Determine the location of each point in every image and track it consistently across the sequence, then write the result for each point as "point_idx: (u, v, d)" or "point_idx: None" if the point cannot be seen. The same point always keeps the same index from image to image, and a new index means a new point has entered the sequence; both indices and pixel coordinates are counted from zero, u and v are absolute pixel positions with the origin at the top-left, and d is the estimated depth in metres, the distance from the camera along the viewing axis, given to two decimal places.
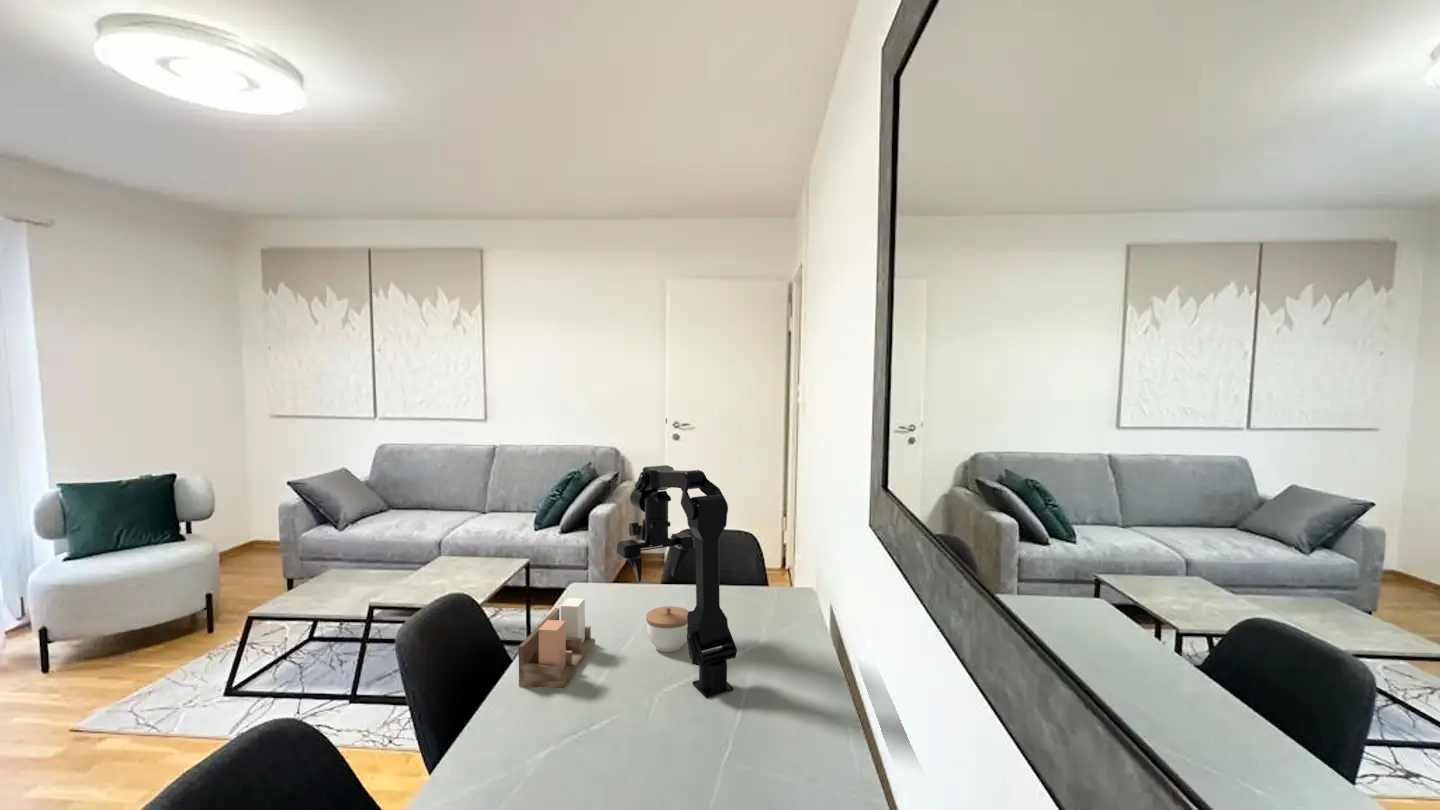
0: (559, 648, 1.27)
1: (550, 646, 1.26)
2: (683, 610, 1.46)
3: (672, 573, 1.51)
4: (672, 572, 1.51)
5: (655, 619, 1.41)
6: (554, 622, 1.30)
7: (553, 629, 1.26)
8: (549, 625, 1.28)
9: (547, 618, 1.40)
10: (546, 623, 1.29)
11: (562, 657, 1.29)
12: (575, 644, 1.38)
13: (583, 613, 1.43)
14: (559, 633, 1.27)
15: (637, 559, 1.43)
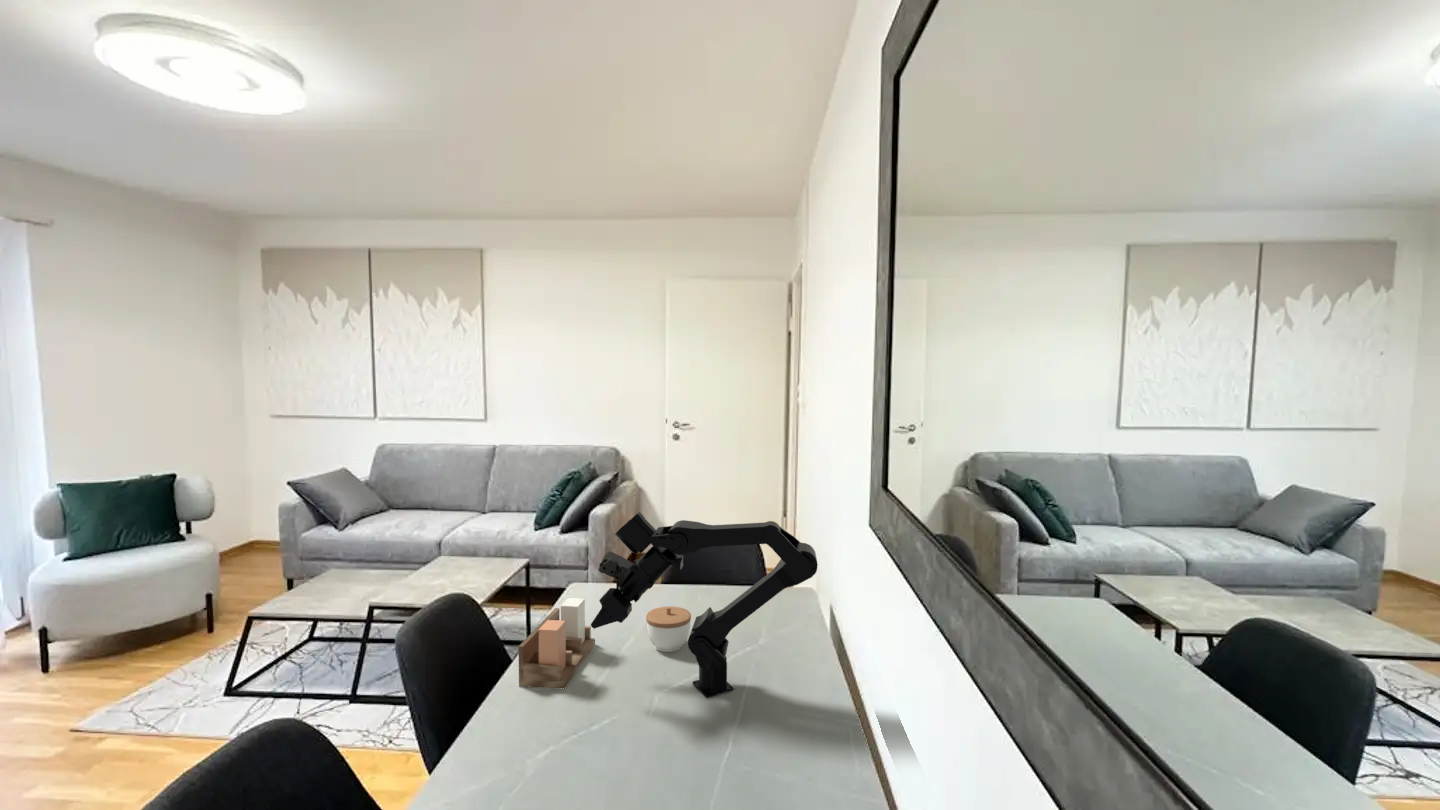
0: (559, 648, 1.27)
1: (550, 646, 1.26)
2: (683, 610, 1.46)
3: None
4: None
5: (655, 619, 1.41)
6: (554, 622, 1.30)
7: (553, 629, 1.26)
8: (549, 625, 1.28)
9: (547, 618, 1.40)
10: (546, 623, 1.29)
11: (562, 657, 1.29)
12: (575, 644, 1.38)
13: (583, 613, 1.43)
14: (559, 633, 1.27)
15: None
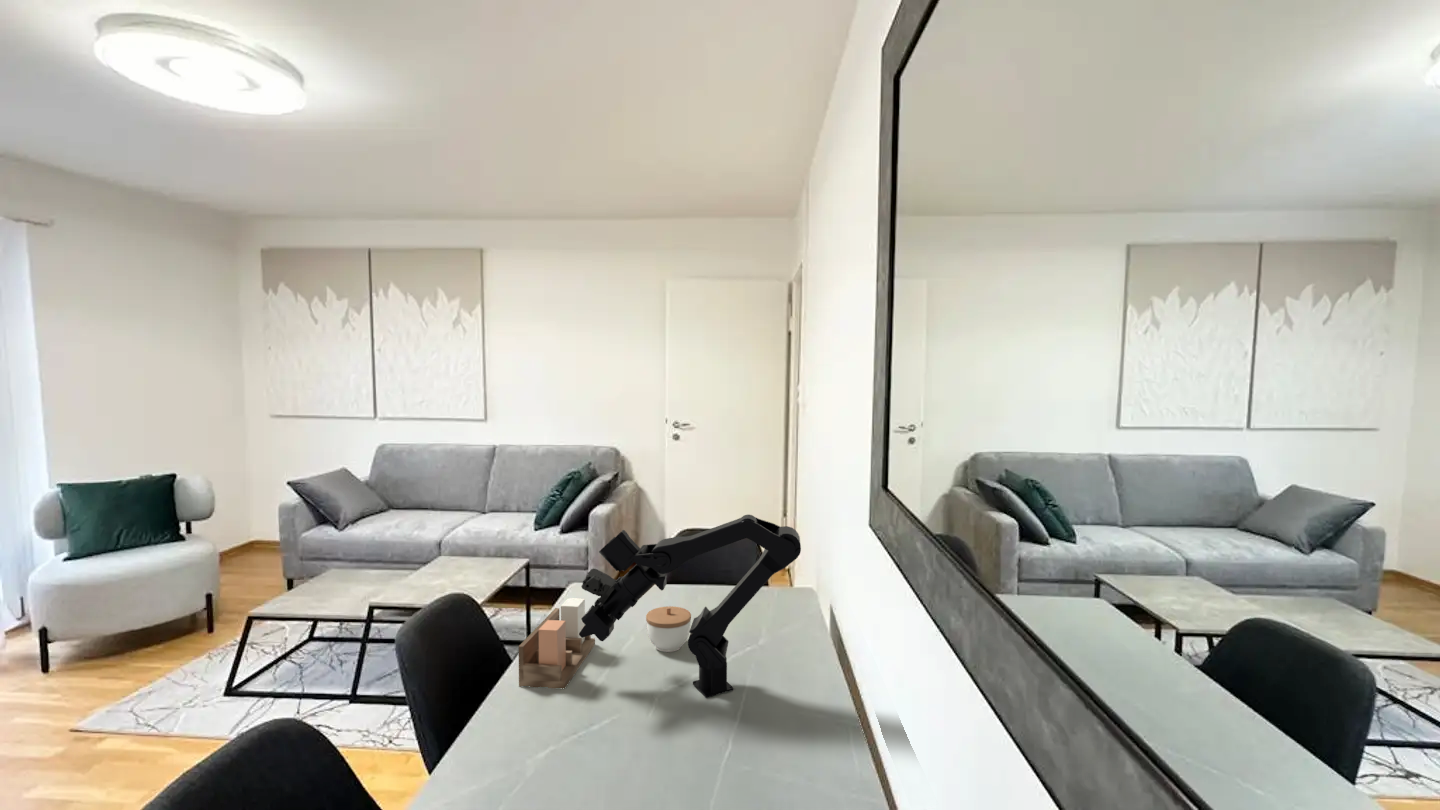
0: (559, 648, 1.27)
1: (550, 646, 1.26)
2: (683, 610, 1.46)
3: None
4: None
5: (655, 619, 1.41)
6: (554, 622, 1.30)
7: (553, 629, 1.26)
8: (549, 625, 1.28)
9: (547, 618, 1.40)
10: (546, 623, 1.29)
11: (562, 657, 1.29)
12: (575, 644, 1.38)
13: (583, 613, 1.43)
14: (559, 633, 1.27)
15: None
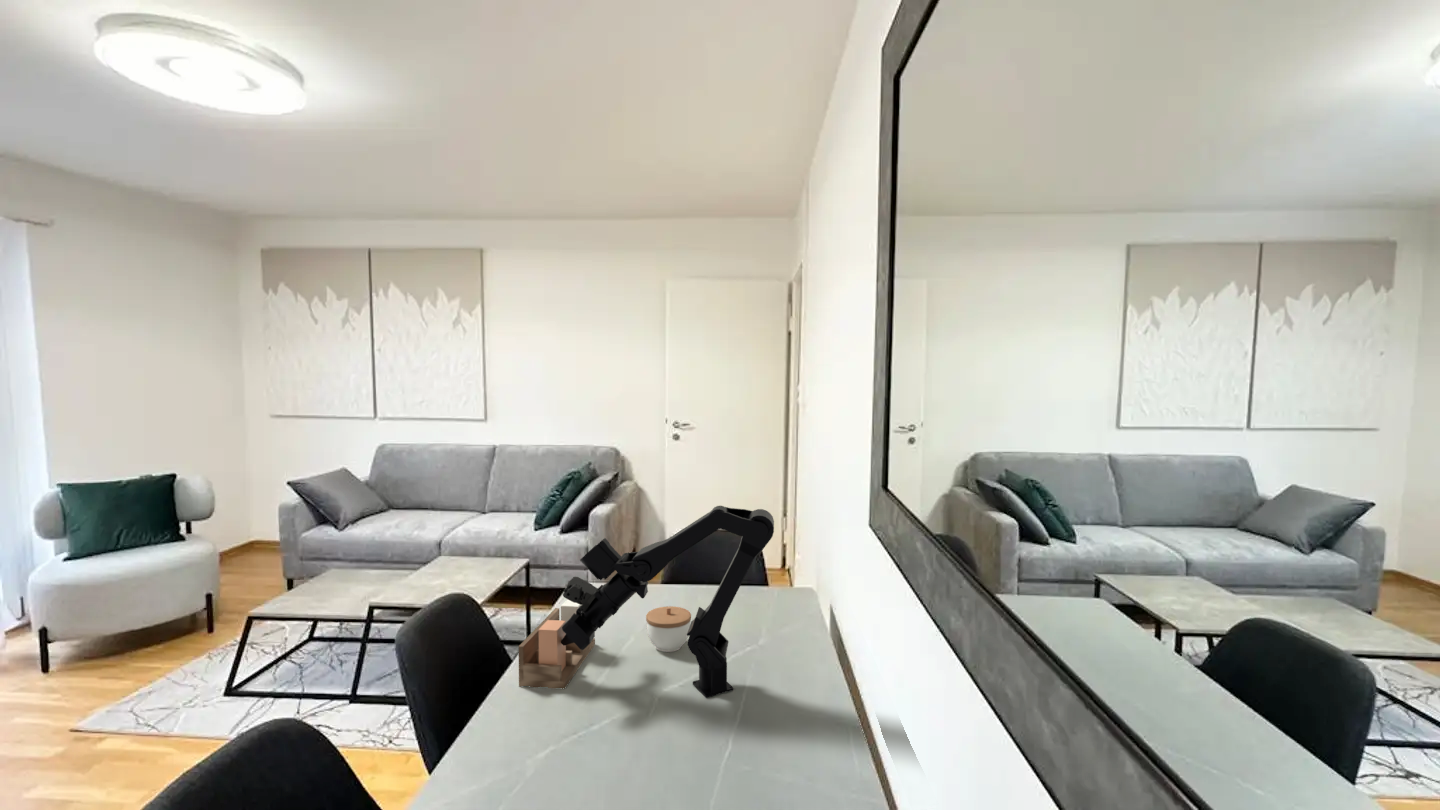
0: (559, 648, 1.27)
1: (550, 646, 1.26)
2: (683, 610, 1.46)
3: None
4: None
5: (655, 619, 1.41)
6: (554, 622, 1.30)
7: (553, 629, 1.26)
8: (549, 625, 1.28)
9: (547, 618, 1.40)
10: (546, 623, 1.29)
11: (562, 657, 1.29)
12: (575, 644, 1.38)
13: None
14: (559, 633, 1.27)
15: None
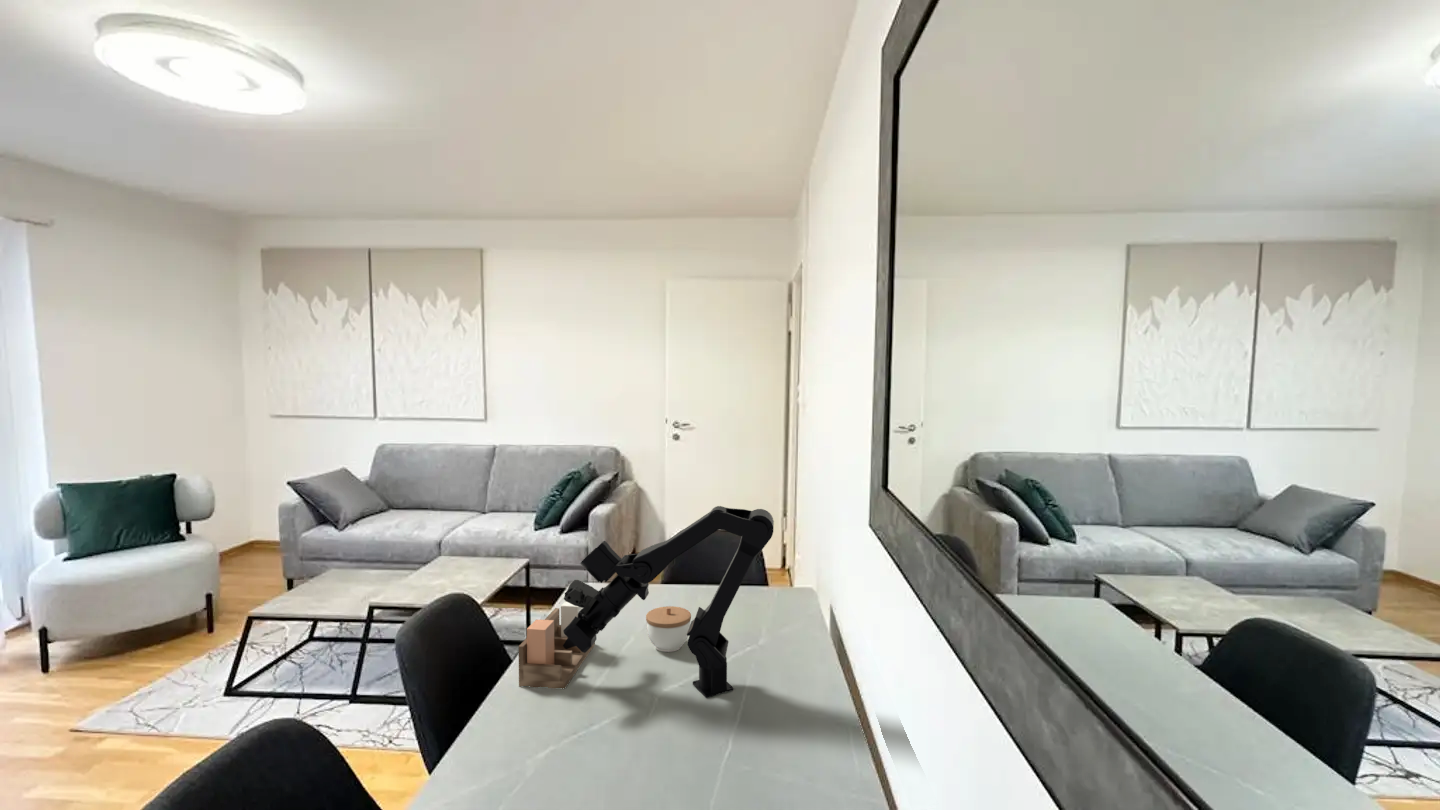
0: (547, 647, 1.27)
1: (538, 646, 1.26)
2: (683, 610, 1.46)
3: None
4: None
5: (655, 619, 1.41)
6: (543, 621, 1.30)
7: (541, 628, 1.26)
8: (538, 624, 1.28)
9: (547, 618, 1.40)
10: (534, 622, 1.29)
11: (550, 656, 1.29)
12: None
13: None
14: (547, 633, 1.27)
15: None
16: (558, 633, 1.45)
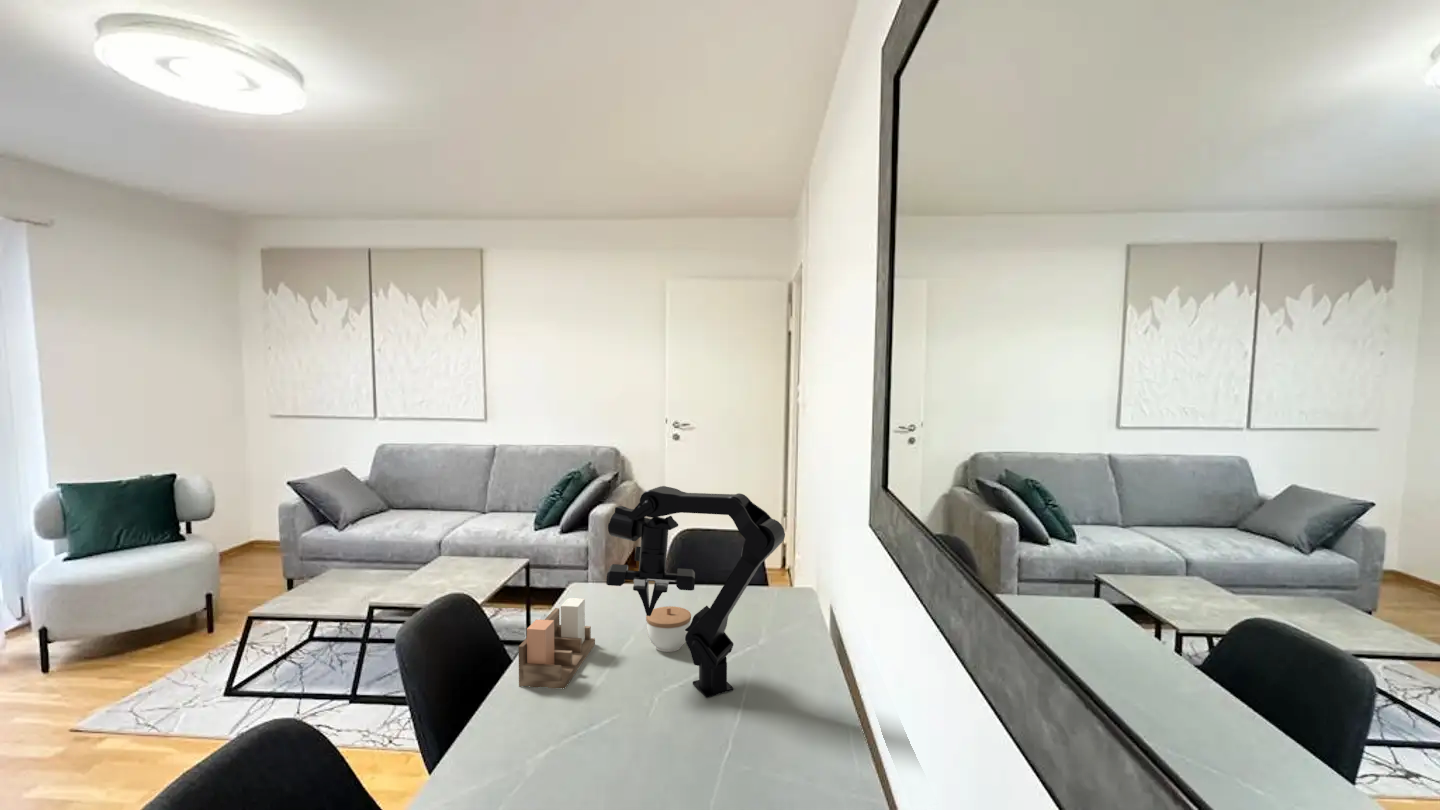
0: (547, 647, 1.27)
1: (538, 646, 1.26)
2: (683, 610, 1.46)
3: None
4: None
5: (655, 619, 1.41)
6: (543, 621, 1.30)
7: (541, 628, 1.26)
8: (538, 624, 1.28)
9: (547, 618, 1.40)
10: (534, 622, 1.29)
11: (550, 656, 1.29)
12: (575, 644, 1.38)
13: (583, 613, 1.43)
14: (547, 633, 1.27)
15: (641, 590, 1.28)
16: (558, 633, 1.45)
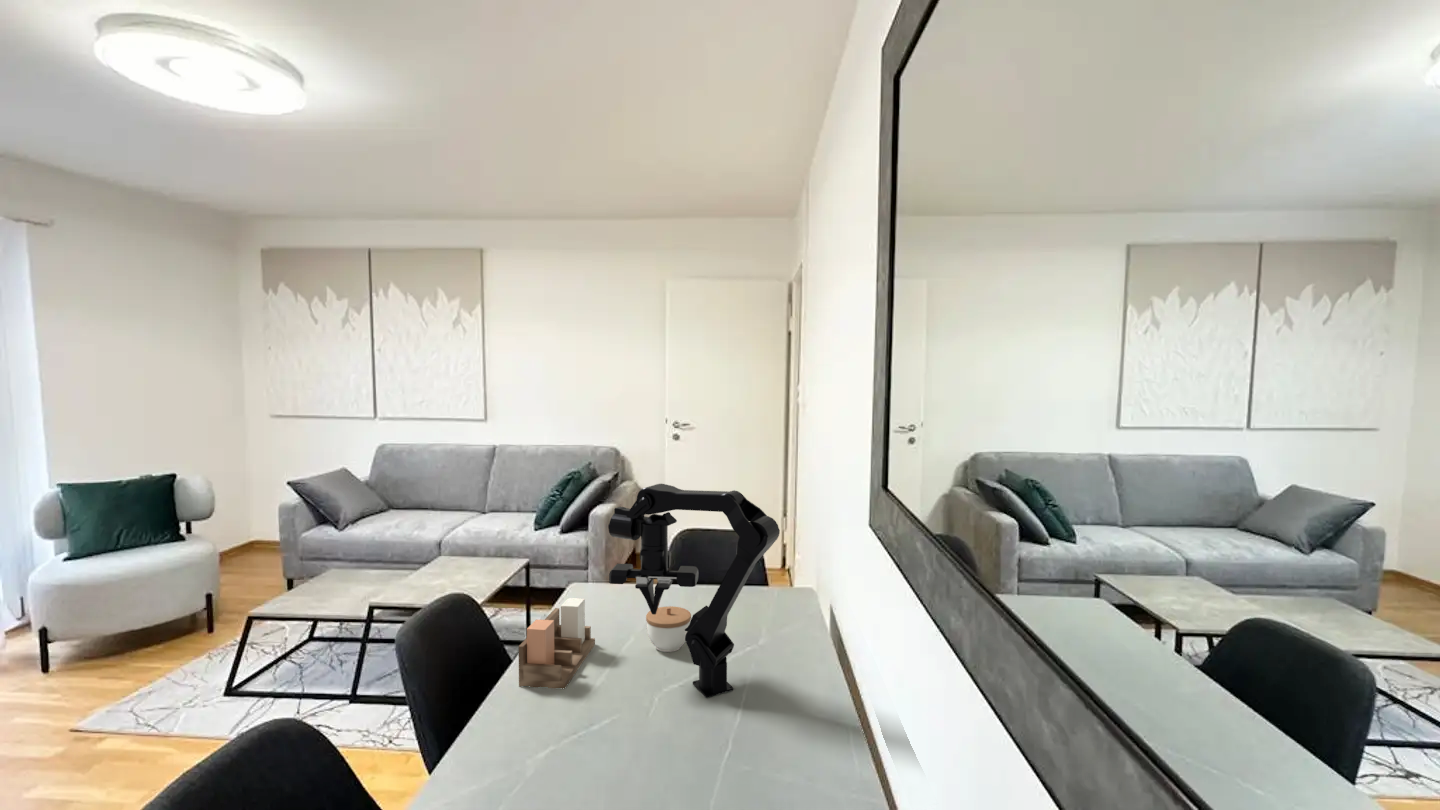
0: (547, 647, 1.27)
1: (538, 646, 1.26)
2: (683, 610, 1.46)
3: None
4: None
5: (655, 619, 1.41)
6: (543, 621, 1.30)
7: (541, 628, 1.26)
8: (538, 624, 1.28)
9: (547, 618, 1.40)
10: (534, 622, 1.29)
11: (550, 656, 1.29)
12: (575, 644, 1.38)
13: (583, 613, 1.43)
14: (547, 633, 1.27)
15: (643, 587, 1.28)
16: (558, 633, 1.45)
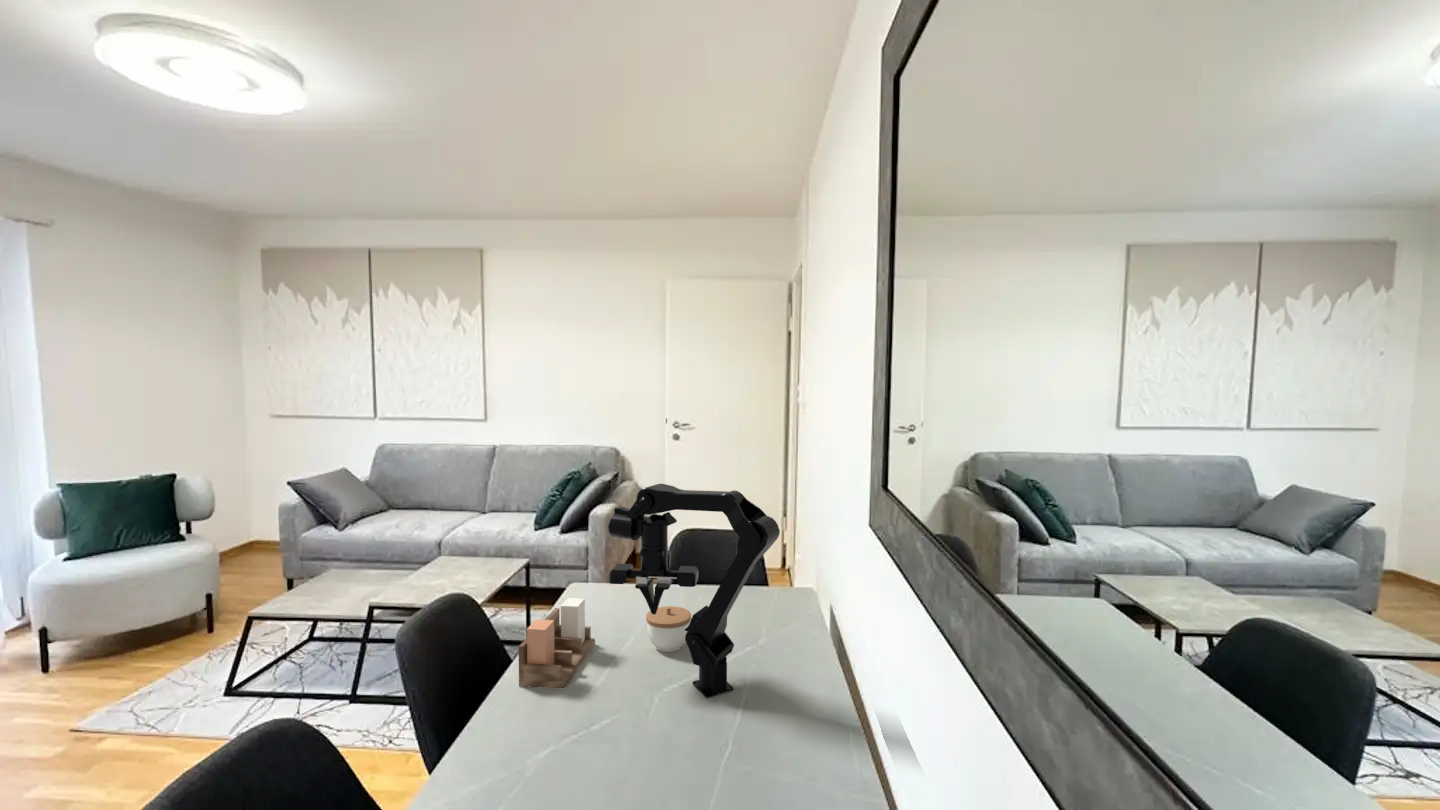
0: (547, 647, 1.27)
1: (538, 646, 1.26)
2: (683, 610, 1.46)
3: None
4: None
5: (655, 619, 1.41)
6: (543, 621, 1.30)
7: (541, 628, 1.26)
8: (538, 624, 1.28)
9: (547, 618, 1.40)
10: (534, 622, 1.29)
11: (550, 656, 1.29)
12: (575, 644, 1.38)
13: (583, 613, 1.43)
14: (547, 633, 1.27)
15: (643, 587, 1.28)
16: (558, 633, 1.45)
